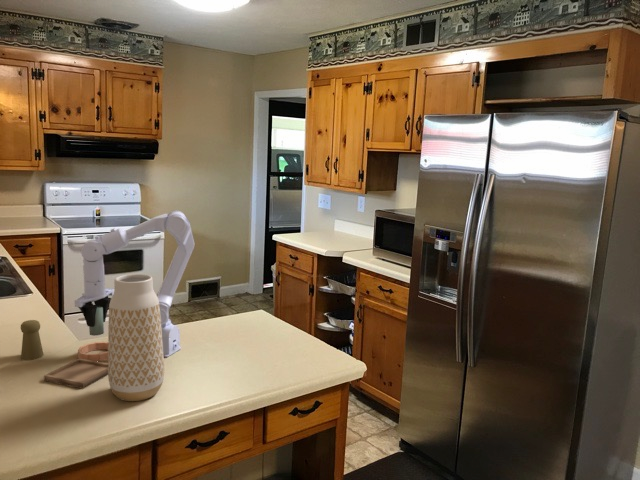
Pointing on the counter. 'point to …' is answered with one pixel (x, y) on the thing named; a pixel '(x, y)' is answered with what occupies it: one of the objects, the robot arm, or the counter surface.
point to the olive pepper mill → (31, 340)
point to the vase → (135, 339)
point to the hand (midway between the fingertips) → (96, 323)
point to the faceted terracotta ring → (90, 347)
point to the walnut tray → (78, 373)
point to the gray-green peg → (98, 323)
